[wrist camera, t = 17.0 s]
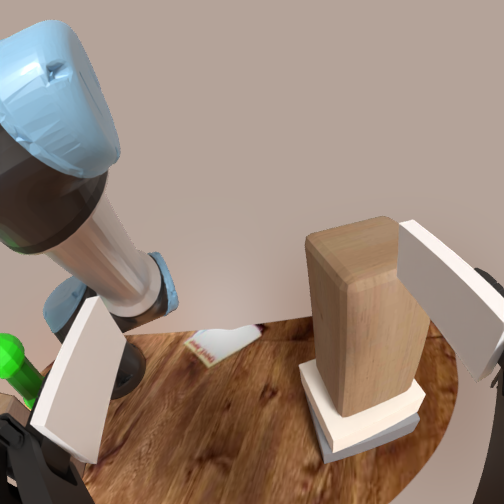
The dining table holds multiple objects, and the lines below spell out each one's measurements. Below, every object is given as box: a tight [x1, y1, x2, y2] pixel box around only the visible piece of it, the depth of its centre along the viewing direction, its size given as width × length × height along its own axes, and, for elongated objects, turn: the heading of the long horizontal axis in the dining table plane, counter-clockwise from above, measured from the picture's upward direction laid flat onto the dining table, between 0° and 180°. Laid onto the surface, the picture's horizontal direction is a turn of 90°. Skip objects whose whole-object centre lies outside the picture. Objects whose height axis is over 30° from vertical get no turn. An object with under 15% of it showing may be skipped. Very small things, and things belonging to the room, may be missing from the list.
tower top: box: [299, 359, 426, 453], centre depth 34 cm, size 13×13×5 cm
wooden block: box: [305, 216, 430, 418], centre depth 28 cm, size 10×10×20 cm
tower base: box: [304, 389, 420, 464], centre depth 37 cm, size 14×14×5 cm
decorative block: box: [0, 393, 85, 478], centre depth 29 cm, size 11×6×20 cm, turn 91°
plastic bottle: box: [0, 333, 44, 410], centre depth 41 cm, size 10×10×25 cm
